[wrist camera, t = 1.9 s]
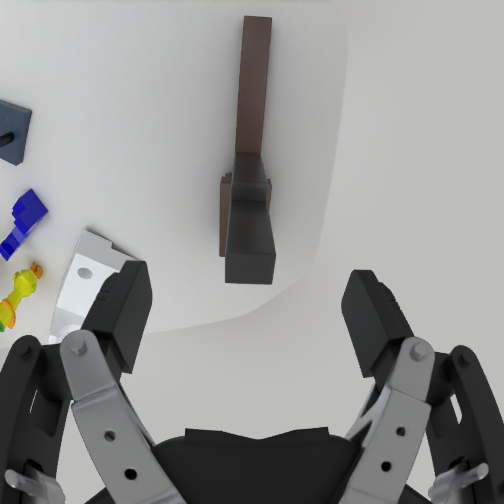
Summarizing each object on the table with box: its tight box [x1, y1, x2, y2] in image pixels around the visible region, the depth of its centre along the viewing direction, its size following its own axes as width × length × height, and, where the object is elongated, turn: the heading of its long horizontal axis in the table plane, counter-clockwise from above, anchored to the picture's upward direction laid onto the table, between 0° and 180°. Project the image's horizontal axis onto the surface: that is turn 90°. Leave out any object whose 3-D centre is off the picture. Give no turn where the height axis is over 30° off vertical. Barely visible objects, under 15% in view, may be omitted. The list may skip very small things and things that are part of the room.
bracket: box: [48, 230, 139, 344], centre depth 27 cm, size 13×7×8 cm, turn 138°
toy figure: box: [0, 263, 42, 332], centre depth 24 cm, size 7×4×12 cm, turn 144°
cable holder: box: [0, 189, 48, 261], centre depth 23 cm, size 8×4×4 cm, turn 120°
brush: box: [219, 16, 276, 285], centre depth 16 cm, size 4×20×15 cm, turn 176°
